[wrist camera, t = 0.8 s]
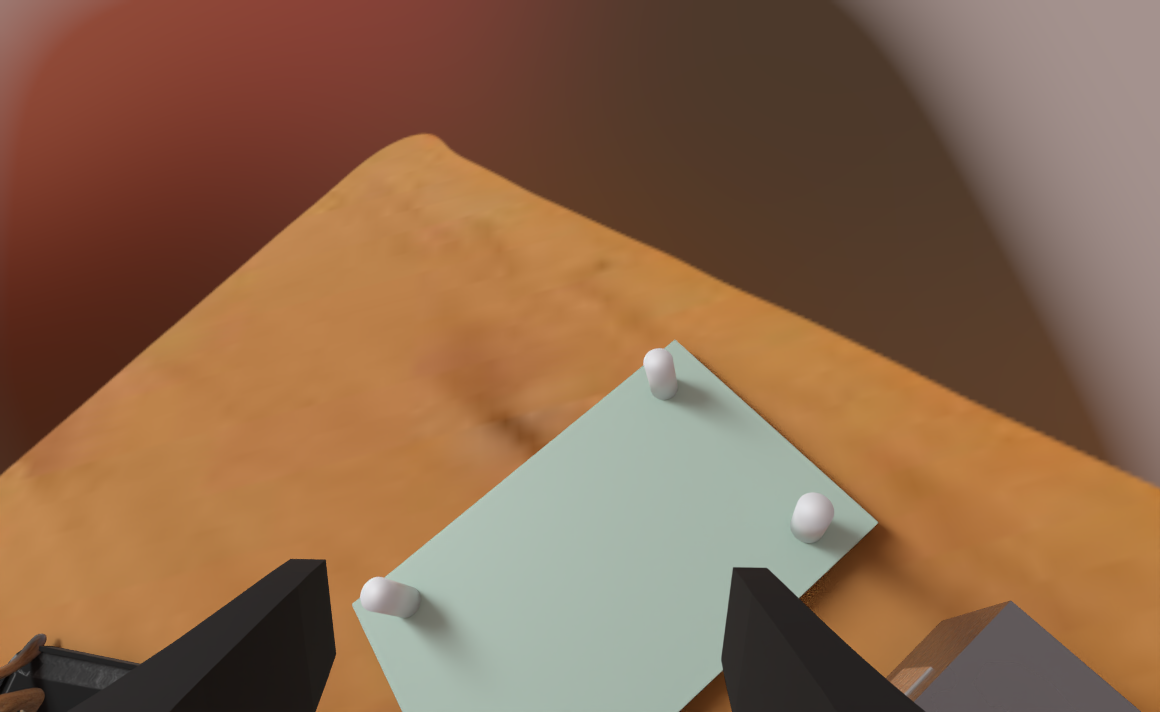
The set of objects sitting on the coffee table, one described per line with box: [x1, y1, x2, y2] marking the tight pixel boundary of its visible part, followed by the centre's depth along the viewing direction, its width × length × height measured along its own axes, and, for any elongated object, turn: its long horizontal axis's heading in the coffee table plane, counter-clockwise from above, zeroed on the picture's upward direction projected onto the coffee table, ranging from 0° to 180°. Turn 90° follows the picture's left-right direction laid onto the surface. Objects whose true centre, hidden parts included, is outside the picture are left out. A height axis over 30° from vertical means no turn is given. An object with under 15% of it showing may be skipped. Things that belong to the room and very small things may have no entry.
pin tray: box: [352, 340, 878, 712], centre depth 22 cm, size 11×18×4 cm, turn 127°
